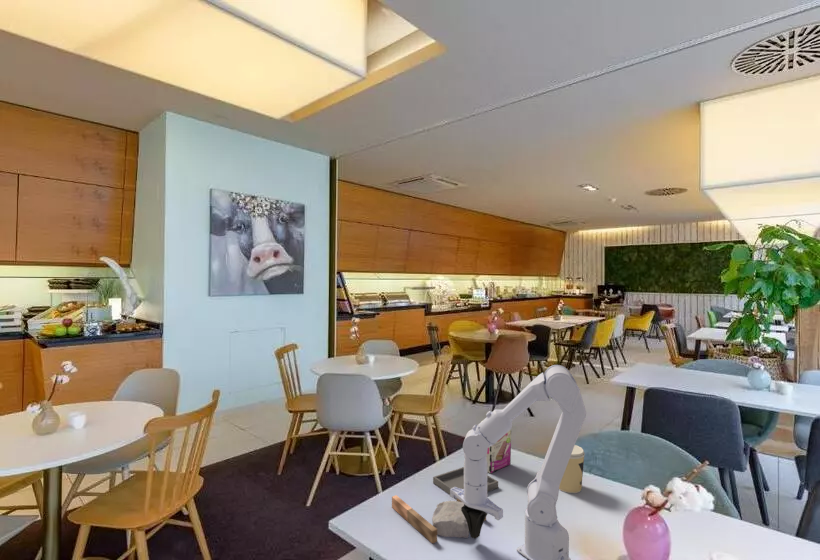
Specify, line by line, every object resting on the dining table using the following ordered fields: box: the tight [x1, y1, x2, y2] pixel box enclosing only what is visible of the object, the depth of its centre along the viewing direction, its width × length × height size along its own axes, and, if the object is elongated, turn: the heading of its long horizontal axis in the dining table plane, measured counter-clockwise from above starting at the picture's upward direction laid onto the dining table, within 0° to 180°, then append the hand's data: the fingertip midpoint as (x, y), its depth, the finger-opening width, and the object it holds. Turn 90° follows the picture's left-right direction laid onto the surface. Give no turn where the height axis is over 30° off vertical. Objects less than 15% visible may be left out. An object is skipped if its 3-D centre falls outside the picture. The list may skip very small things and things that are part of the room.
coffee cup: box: [559, 444, 585, 494], centre depth 128 cm, size 9×9×12 cm
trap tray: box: [432, 466, 499, 500], centre depth 129 cm, size 13×15×2 cm
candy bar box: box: [480, 420, 512, 474], centre depth 142 cm, size 11×5×16 cm, turn 130°
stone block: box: [432, 500, 470, 539], centre depth 109 cm, size 12×5×10 cm
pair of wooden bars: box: [391, 494, 487, 544], centre depth 113 cm, size 19×18×3 cm
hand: (475, 536), depth 101 cm, fingers closed
